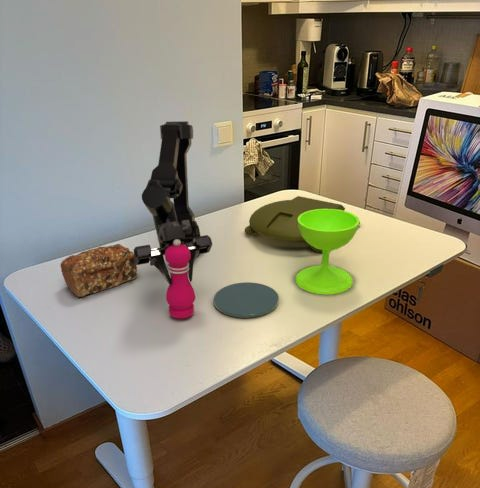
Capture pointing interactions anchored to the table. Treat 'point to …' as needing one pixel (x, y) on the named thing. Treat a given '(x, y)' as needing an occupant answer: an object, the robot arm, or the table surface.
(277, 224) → the spaceship
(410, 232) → the table surface
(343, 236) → the wineglass
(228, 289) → the plate
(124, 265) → the bread
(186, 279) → the pepper mill
